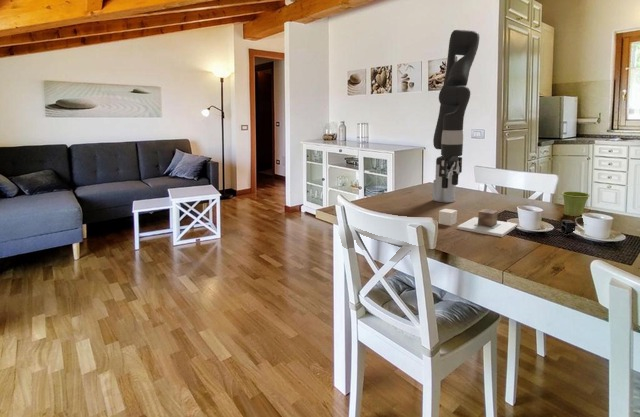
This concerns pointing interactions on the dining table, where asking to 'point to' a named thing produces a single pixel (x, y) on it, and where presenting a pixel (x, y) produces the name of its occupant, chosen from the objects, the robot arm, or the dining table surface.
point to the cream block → (447, 217)
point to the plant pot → (574, 203)
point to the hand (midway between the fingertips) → (449, 186)
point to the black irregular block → (567, 226)
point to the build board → (496, 230)
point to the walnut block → (487, 217)
